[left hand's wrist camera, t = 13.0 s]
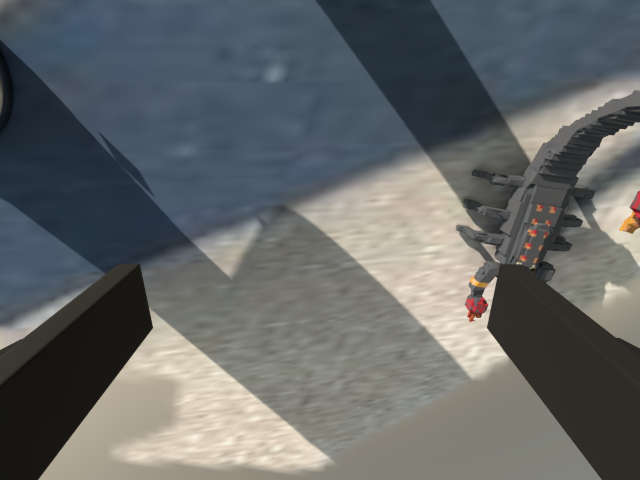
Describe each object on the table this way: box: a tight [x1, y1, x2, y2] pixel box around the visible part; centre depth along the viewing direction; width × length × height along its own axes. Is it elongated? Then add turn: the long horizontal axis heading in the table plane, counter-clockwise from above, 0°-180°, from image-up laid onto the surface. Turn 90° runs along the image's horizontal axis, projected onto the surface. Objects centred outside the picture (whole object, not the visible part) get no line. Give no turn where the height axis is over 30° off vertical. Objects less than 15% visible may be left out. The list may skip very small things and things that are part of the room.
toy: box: [456, 91, 640, 322], centre depth 33 cm, size 13×27×18 cm, turn 172°
